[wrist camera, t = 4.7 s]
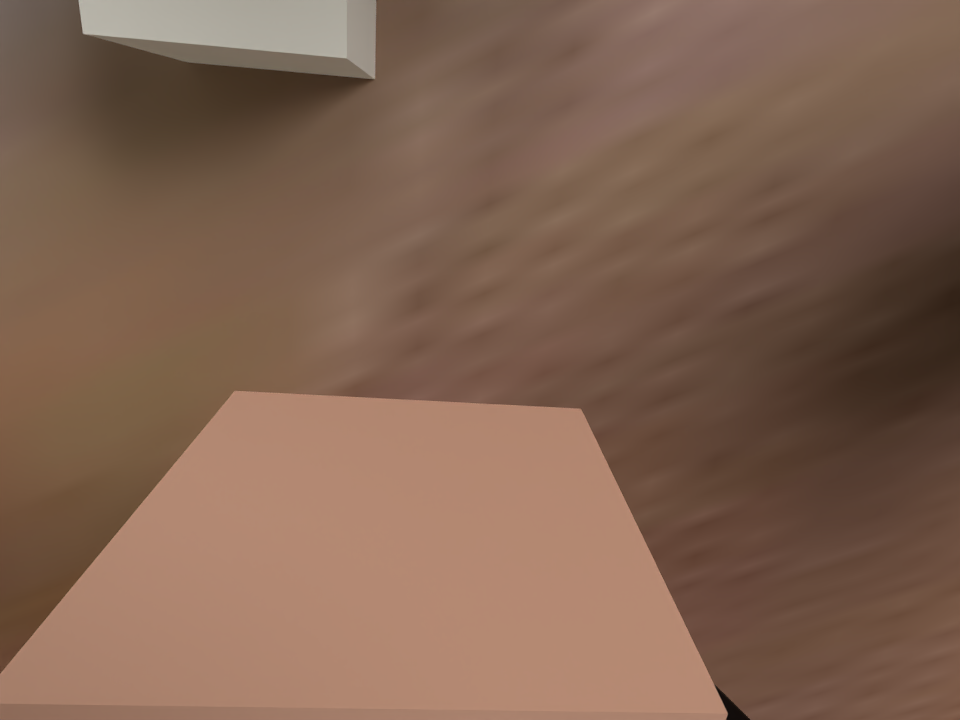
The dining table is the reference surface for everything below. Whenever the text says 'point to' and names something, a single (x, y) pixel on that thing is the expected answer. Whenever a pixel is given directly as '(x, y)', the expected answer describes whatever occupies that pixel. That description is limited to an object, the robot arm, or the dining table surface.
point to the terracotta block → (371, 579)
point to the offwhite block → (244, 32)
